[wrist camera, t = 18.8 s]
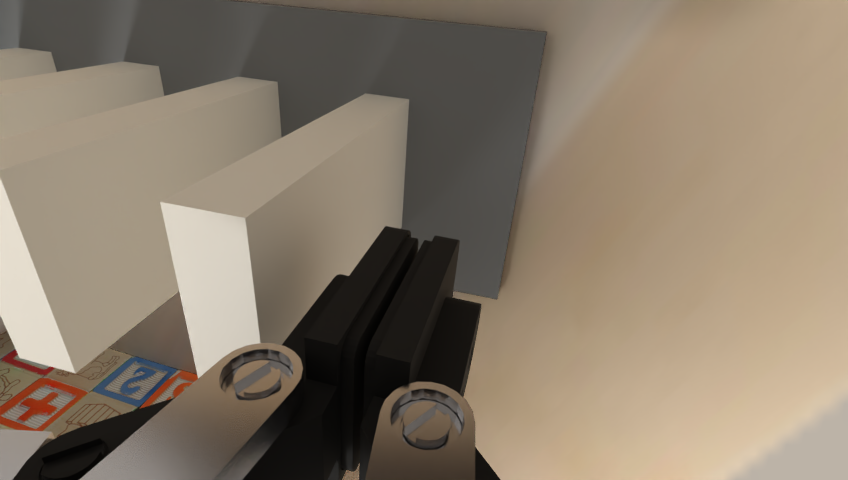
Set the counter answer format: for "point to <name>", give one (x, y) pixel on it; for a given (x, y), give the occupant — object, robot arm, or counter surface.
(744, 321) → the counter surface
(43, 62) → the domino
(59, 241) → the domino
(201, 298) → the domino
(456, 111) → the domino mat
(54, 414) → the stack of blocks
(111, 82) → the domino
